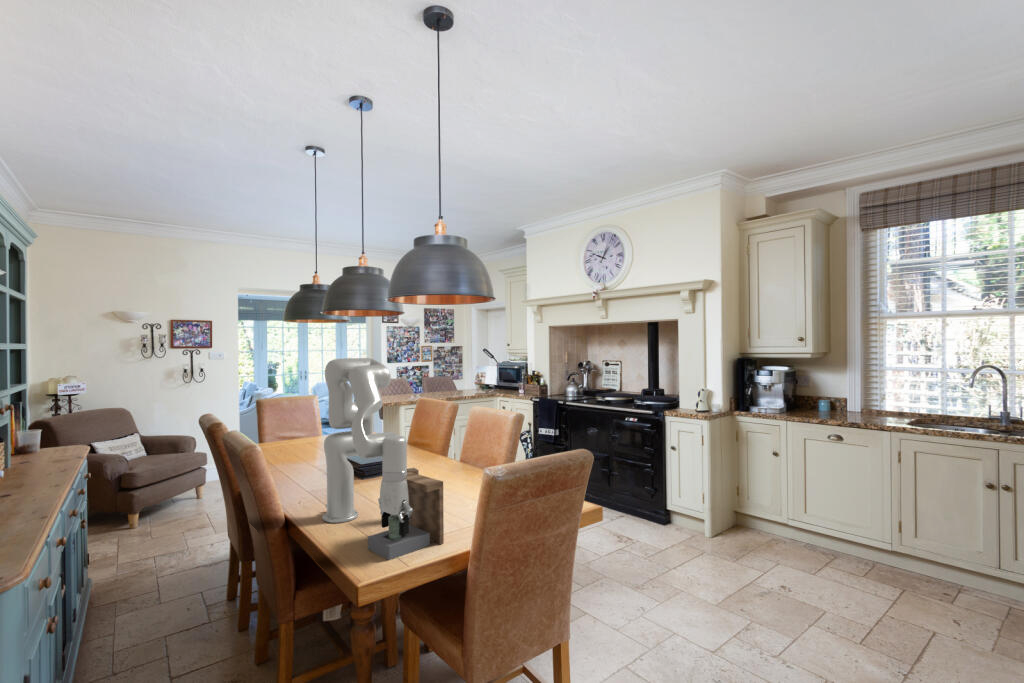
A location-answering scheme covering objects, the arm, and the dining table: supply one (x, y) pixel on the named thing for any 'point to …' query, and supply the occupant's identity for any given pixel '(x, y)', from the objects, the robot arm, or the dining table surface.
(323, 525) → the dining table surface
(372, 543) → the socket block
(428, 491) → the brown notched wall
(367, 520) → the dining table surface
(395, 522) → the peg
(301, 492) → the dining table surface
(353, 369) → the robot arm
